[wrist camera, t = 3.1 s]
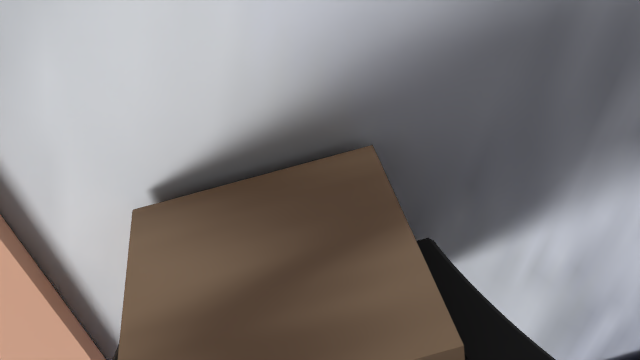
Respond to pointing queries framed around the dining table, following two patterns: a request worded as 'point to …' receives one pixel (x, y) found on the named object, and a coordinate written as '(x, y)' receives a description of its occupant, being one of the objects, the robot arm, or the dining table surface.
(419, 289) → the walnut cube
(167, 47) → the dining table surface
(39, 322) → the terracotta tile
